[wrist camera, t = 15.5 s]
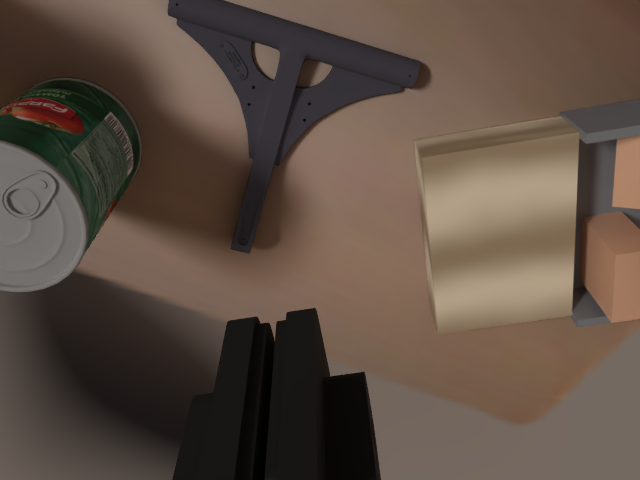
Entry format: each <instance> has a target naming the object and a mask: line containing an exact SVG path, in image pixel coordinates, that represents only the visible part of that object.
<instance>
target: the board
mask: <svg viewBox="0 0 640 480" xmlns="http://www.w3.org/2000/svg"><path fill="white" fill-rule="evenodd" d="M414 144H415V154H416V165H417V175H418V185H419V196H420V206H421V216H422V227H423V237H424V247H425V258H426V268H427V278H428V288H429V299H430V309H431V312H432V316H433V319H434V322H435V326H436V329H437V332H438V334H445V333H452V332H459V331H466V330H473V329H480V328H487V327H494V326H501V325H508V324H515V323H522V322H529V321H536V320H543V319H550V318H557V317H564V316H571V315H572V302H573V277H574V253H575V228H576V204H577V179H578V155H579V131H577V130H576V129H575V128H574V127H573V126H571V125H570V124H569V123H568V122H567V121H565V120H564V119H563V118H562V117H561V116H558V117H552V118H546V119H540V120H534V121H528V122H522V123H516V124H510V125H504V126H497V127H491V128H485V129H479V130H473V131H467V132H461V133H455V134H449V135H442V136H436V137H430V138H424V139H418V140H414Z"/></svg>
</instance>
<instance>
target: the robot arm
mask: <svg viewBox="0 0 640 480" xmlns="http://www.w3.org/2000/svg"><path fill="white" fill-rule="evenodd" d="M173 480H381V479H380V470H379V462H378V454H377V446H376V439H375V431H374V424H373V418H372V411H371V405H370V399H369V393H368V387H367V382H366V376H365V372H360V373H353V374H345V375H338V376H331V377H330V372H329V367H328V362H327V358H326V353H325V348H324V343H323V338H322V334H321V329H320V324H319V319H318V315H317V311H316V309H315V308H312V309H305V310H298V311H292V312H287V314H286V320H283V321H277V324H276V335H275V341H274V337H273V333H272V329H271V326H270V324H269V323H262V324H260V321H259V319H258V317H251V318H244V319H237V320H230V321H228V322H227V326H226V331H225V336H224V341H223V346H222V351H221V356H220V361H219V366H218V372H217V377H216V382H215V387H214V392H213V393H209V394H202V395H195V396H194V398H193V399H192V401H191V404H190V408H189V412H188V417H187V421H186V425H185V429H184V433H183V437H182V442H181V446H180V450H179V454H178V459H177V463H176V467H175V471H174V476H173Z"/></svg>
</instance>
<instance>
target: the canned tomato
mask: <svg viewBox="0 0 640 480" xmlns="http://www.w3.org/2000/svg"><path fill="white" fill-rule="evenodd" d="M141 158H142V142H141V136H140V132H139V130H138V127H137V125H136V122H135V120H134V119H133V117H132V115H131V114H130V112H129V111H128V109H127V108H126V107H125V106H124V105H123V104H122V103H121V101H120V100H119V99H117V98H116V97H115V96H114V95H112V94H111V93H110V92H109V91H107V90H105V89H103V88H102V87H100V86H98V85H96V84H93V83H91V82H88V81H85V80H81V79H75V78H55V79H51V80H46V81H43V82H41V83H39V84H37V85H35V86H33V87H31V88H30V89H29V90H28V91H27V92H26V93H24V94H22V95H20V96H19V97H18V98H16V99H14V100H13V101H12V102H10V103H8V104H7V105H6V106H4V107H2V108H1V109H0V290H4V291H11V292H30V291H35V290H40V289H44V288H47V287H50V286H52V285H55V284H57V283H59V282H60V281H62V280H63V279H64V278H66V277H67V276H69V275H70V274H71V273H72V272H73V271H74V269H75V268H76V267H77V266H78V265H79V263H80V261H81V259H82V258H83V256H84V254H85V252H86V250H87V249H88V248H89V247H90V245H91V243H92V241H93V240H94V239H95V237H96V235H97V233H98V232H99V231H100V229H101V227H102V226H103V225H104V223H105V221H106V220H107V218H108V216H109V214H110V213H111V212H112V210H113V208H114V207H115V206H116V204H117V202H118V201H119V199H120V197H121V196H122V195H123V193H124V191H125V190H126V188H127V187H128V185H129V183H130V182H131V181H132V180H133V178H134V177H135V175H136V173H137V171H138V169H139V166H140V162H141Z"/></svg>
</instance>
